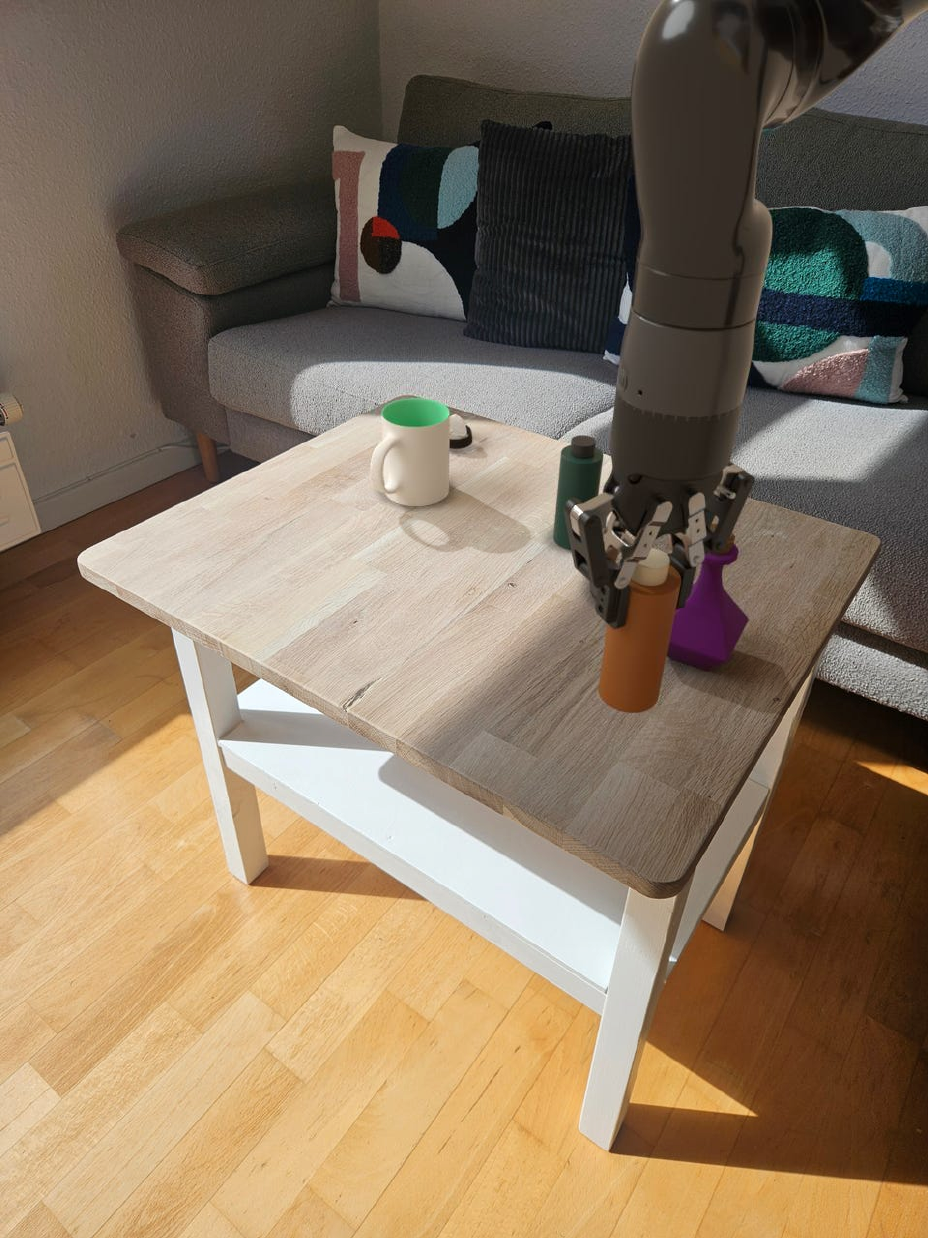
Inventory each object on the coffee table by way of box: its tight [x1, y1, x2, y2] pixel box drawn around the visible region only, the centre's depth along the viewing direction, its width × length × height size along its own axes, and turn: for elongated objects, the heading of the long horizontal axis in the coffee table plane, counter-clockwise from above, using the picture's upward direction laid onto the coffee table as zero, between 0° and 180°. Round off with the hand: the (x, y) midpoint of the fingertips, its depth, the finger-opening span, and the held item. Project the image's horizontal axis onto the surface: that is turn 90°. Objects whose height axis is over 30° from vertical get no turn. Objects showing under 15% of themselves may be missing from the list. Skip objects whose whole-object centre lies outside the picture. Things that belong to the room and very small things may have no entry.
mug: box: [369, 397, 451, 507], centre depth 104 cm, size 12×8×10 cm
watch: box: [449, 413, 473, 450], centre depth 119 cm, size 8×5×4 cm, turn 43°
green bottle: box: [552, 434, 604, 550], centre depth 97 cm, size 5×5×12 cm
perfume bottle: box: [666, 492, 751, 672], centre depth 79 cm, size 8×8×18 cm
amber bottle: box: [598, 547, 681, 714], centre depth 63 cm, size 5×5×12 cm
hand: (642, 611), depth 62 cm, fingers closed on amber bottle, 4 cm apart
